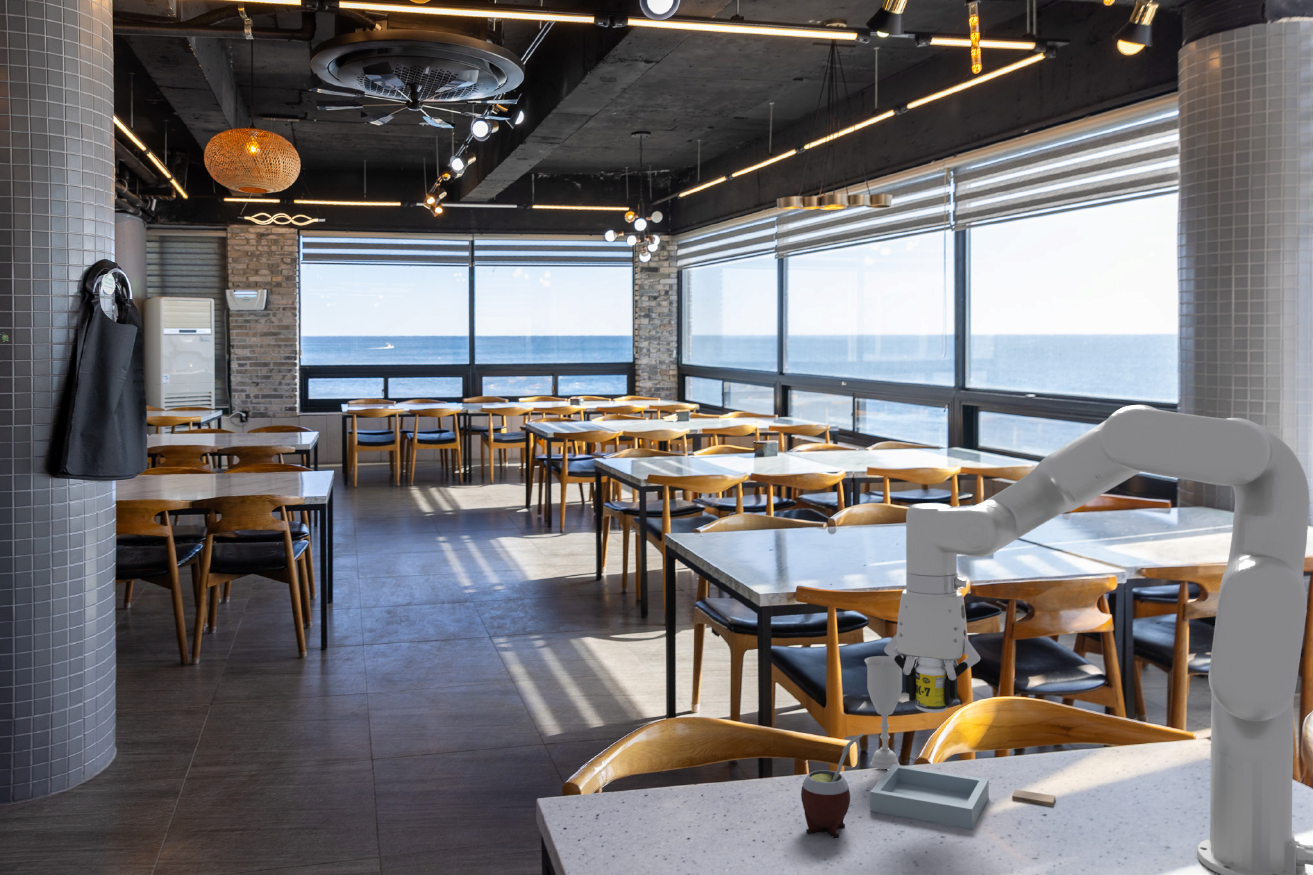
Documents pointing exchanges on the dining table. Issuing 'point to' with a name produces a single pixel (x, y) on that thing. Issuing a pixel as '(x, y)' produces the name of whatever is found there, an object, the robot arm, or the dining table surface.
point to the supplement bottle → (930, 685)
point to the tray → (930, 796)
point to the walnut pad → (1033, 797)
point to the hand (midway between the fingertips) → (931, 699)
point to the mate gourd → (826, 798)
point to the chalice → (884, 701)
